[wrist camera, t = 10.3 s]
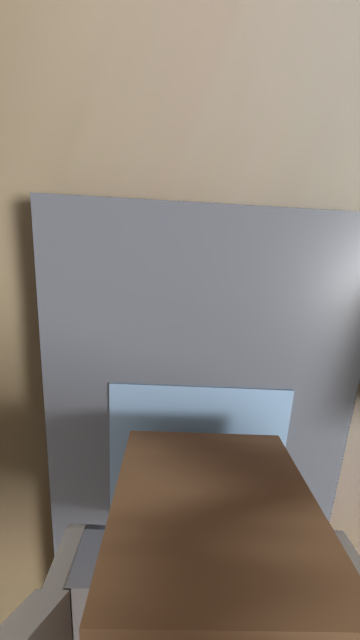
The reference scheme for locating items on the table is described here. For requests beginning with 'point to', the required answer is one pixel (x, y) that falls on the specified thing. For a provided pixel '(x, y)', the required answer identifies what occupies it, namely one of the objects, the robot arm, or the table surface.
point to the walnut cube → (218, 547)
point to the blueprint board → (192, 334)
